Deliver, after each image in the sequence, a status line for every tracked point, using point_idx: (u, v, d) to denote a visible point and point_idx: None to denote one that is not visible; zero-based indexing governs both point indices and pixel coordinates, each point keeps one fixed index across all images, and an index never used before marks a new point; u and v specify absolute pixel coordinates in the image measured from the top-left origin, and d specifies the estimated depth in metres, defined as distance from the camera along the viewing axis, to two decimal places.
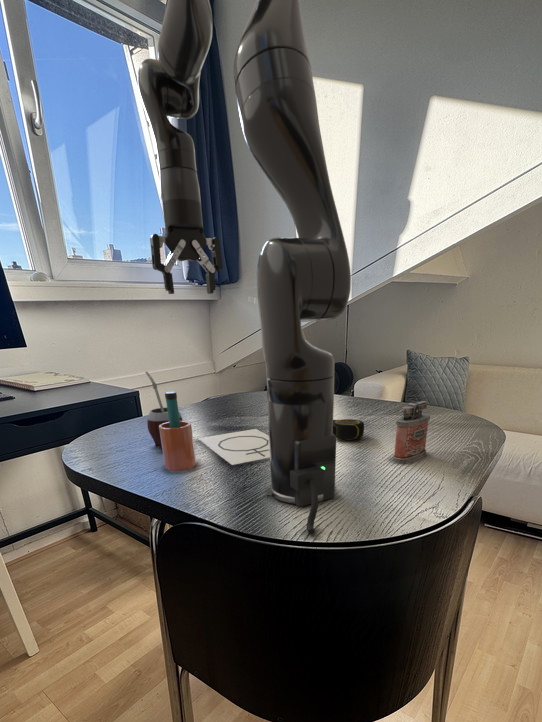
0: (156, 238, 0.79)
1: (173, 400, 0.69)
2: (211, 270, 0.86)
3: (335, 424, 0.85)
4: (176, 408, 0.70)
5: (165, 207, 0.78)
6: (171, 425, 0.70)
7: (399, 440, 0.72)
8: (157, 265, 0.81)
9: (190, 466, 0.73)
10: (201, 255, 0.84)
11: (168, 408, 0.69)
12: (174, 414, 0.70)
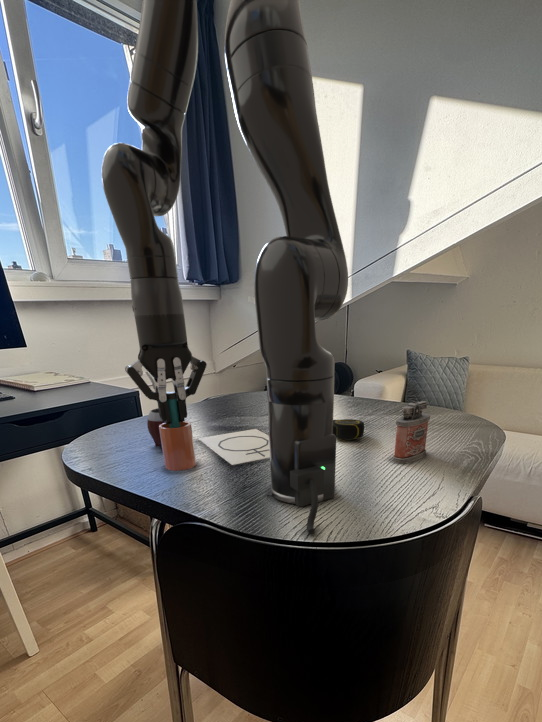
0: (132, 371, 0.64)
1: (173, 400, 0.69)
2: (181, 396, 0.69)
3: (335, 424, 0.85)
4: (176, 408, 0.69)
5: (138, 323, 0.62)
6: (171, 425, 0.70)
7: (399, 440, 0.72)
8: (150, 396, 0.66)
9: (190, 466, 0.73)
10: (177, 376, 0.67)
11: None
12: (174, 414, 0.70)
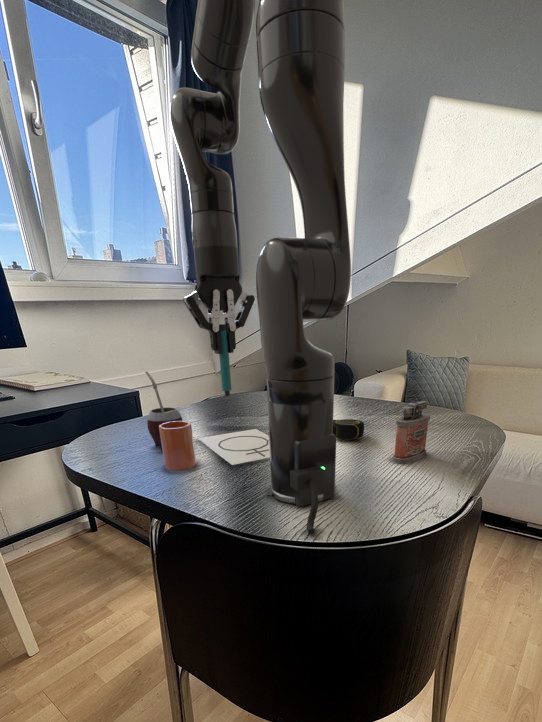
0: (191, 300, 0.70)
1: (224, 331, 0.75)
2: (231, 327, 0.75)
3: (335, 424, 0.85)
4: (226, 339, 0.76)
5: (198, 254, 0.68)
6: (221, 355, 0.77)
7: (399, 440, 0.72)
8: (205, 325, 0.73)
9: (190, 466, 0.73)
10: (229, 307, 0.73)
11: None
12: (224, 345, 0.76)
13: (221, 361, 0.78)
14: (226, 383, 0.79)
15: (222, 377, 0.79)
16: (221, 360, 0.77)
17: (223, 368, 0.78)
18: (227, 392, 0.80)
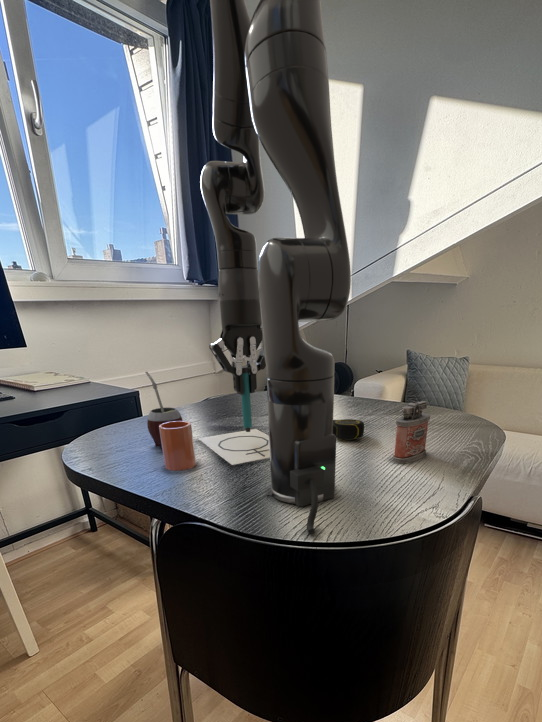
0: (217, 348, 0.76)
1: (246, 374, 0.81)
2: (253, 370, 0.80)
3: (335, 424, 0.85)
4: (248, 381, 0.81)
5: (224, 306, 0.74)
6: (243, 395, 0.82)
7: (399, 440, 0.72)
8: (229, 369, 0.78)
9: (190, 466, 0.73)
10: (252, 353, 0.79)
11: None
12: (246, 386, 0.81)
13: (243, 401, 0.83)
14: (247, 420, 0.84)
15: (243, 415, 0.84)
16: (243, 400, 0.83)
17: (245, 407, 0.83)
18: (248, 428, 0.85)
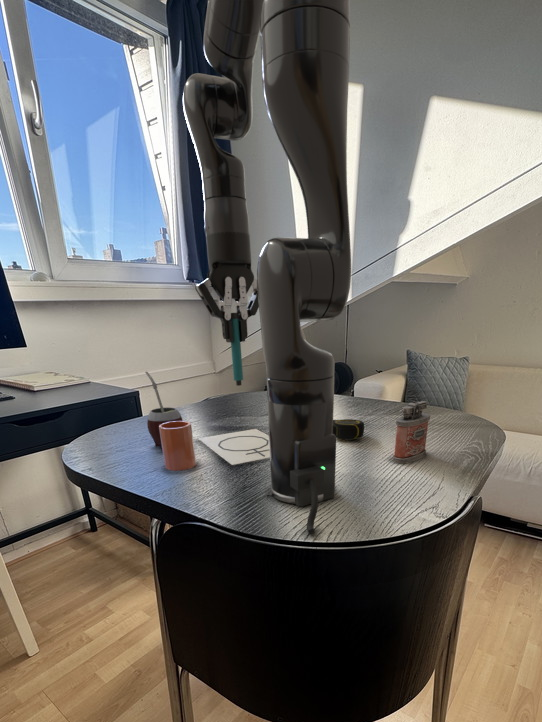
0: (203, 287, 0.70)
1: (236, 320, 0.75)
2: (243, 316, 0.75)
3: (335, 424, 0.85)
4: (238, 328, 0.76)
5: (210, 241, 0.68)
6: (233, 344, 0.77)
7: (399, 440, 0.72)
8: (217, 313, 0.73)
9: (190, 466, 0.73)
10: (241, 295, 0.73)
11: None
12: (236, 333, 0.76)
13: (233, 350, 0.77)
14: (238, 372, 0.79)
15: (234, 366, 0.78)
16: (233, 349, 0.77)
17: (235, 357, 0.78)
18: (239, 382, 0.80)
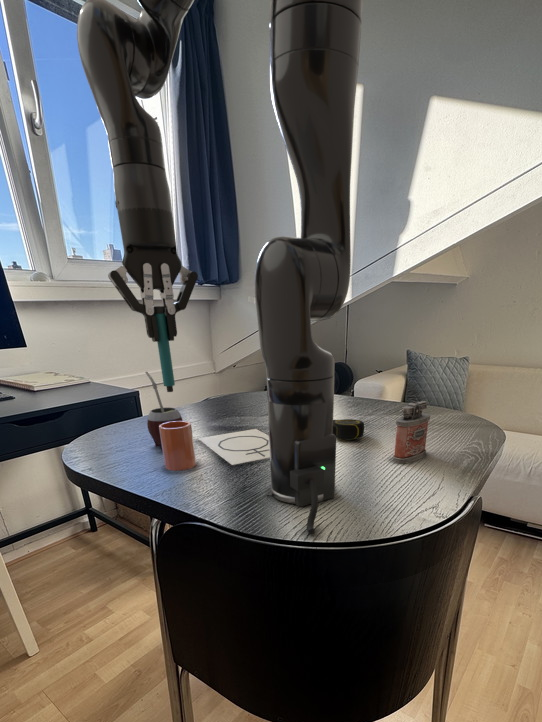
0: (116, 276, 0.58)
1: (161, 315, 0.63)
2: (169, 310, 0.63)
3: (335, 424, 0.85)
4: (164, 324, 0.64)
5: (121, 219, 0.56)
6: (159, 344, 0.65)
7: (399, 440, 0.72)
8: (136, 306, 0.61)
9: (190, 466, 0.73)
10: (165, 286, 0.61)
11: None
12: (162, 331, 0.64)
13: (160, 351, 0.65)
14: (167, 377, 0.67)
15: (162, 370, 0.67)
16: (160, 349, 0.65)
17: (162, 359, 0.66)
18: (169, 387, 0.68)
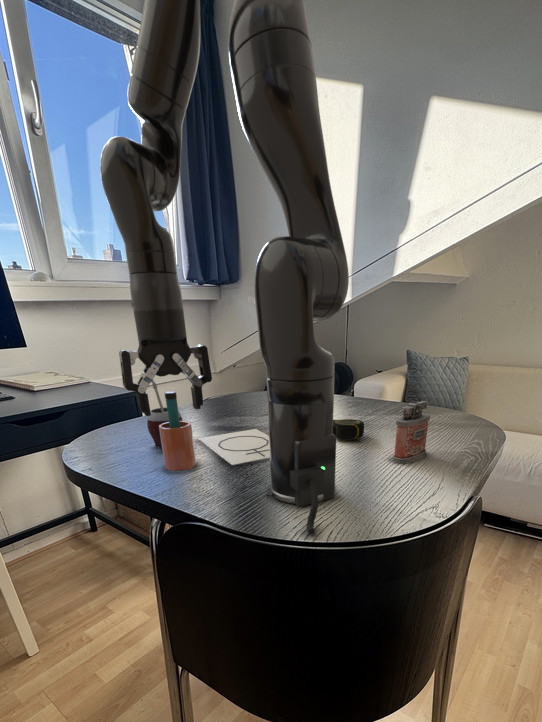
0: (126, 356, 0.63)
1: (173, 400, 0.69)
2: (197, 384, 0.69)
3: (335, 424, 0.85)
4: (176, 408, 0.70)
5: (137, 318, 0.62)
6: (171, 425, 0.71)
7: (399, 440, 0.72)
8: (128, 387, 0.64)
9: (190, 466, 0.73)
10: (184, 369, 0.67)
11: (168, 408, 0.69)
12: (174, 414, 0.70)
13: None
14: None
15: None
16: None
17: None
18: None
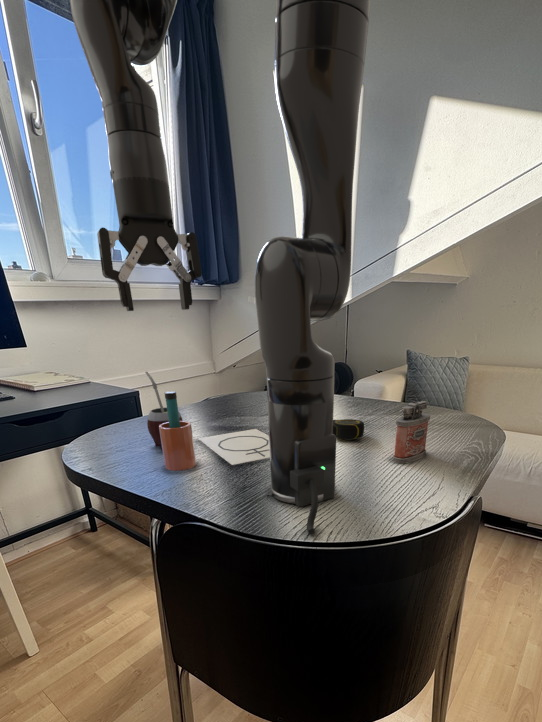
0: (104, 234, 0.56)
1: (173, 400, 0.69)
2: (185, 278, 0.63)
3: (335, 424, 0.85)
4: (176, 408, 0.70)
5: (116, 189, 0.55)
6: (171, 425, 0.71)
7: (399, 440, 0.72)
8: (107, 272, 0.58)
9: (190, 466, 0.73)
10: (171, 258, 0.60)
11: (168, 408, 0.69)
12: (174, 414, 0.70)
13: None
14: None
15: None
16: None
17: None
18: None
